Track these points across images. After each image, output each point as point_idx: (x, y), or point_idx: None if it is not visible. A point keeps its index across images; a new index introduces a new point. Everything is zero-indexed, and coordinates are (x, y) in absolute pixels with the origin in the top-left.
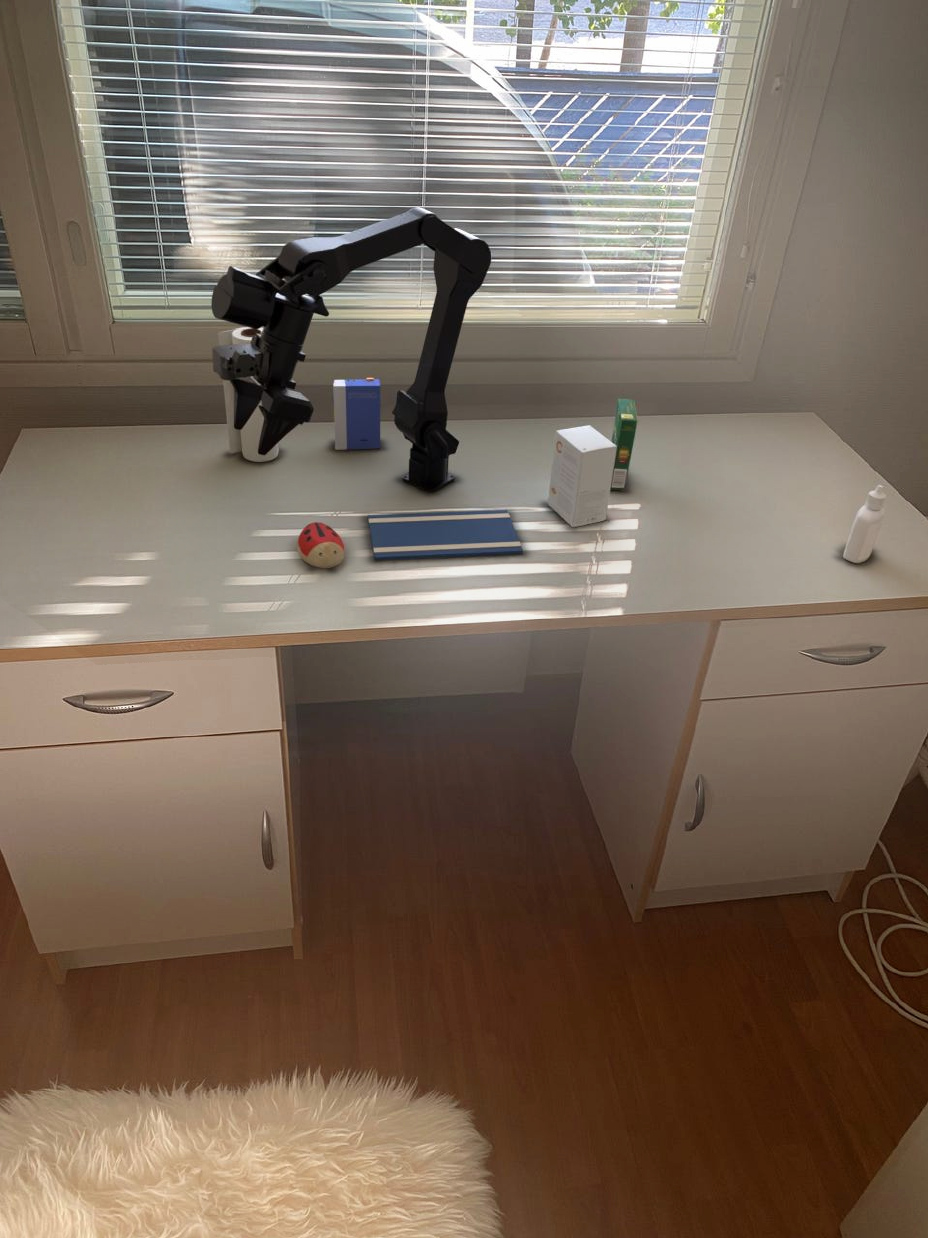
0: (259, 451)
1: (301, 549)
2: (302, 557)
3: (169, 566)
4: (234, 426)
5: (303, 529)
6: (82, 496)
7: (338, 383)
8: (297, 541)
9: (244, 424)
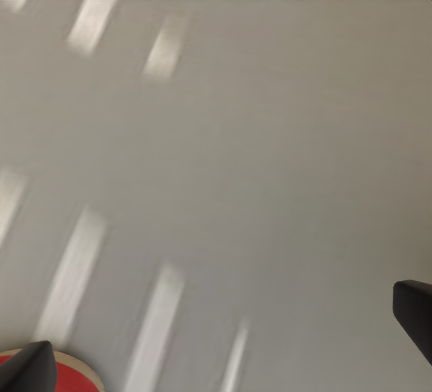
0: (18, 353)
1: (7, 358)
2: (1, 352)
3: (110, 90)
4: (406, 282)
5: (61, 388)
6: (400, 4)
7: None
8: (60, 358)
9: (417, 343)
